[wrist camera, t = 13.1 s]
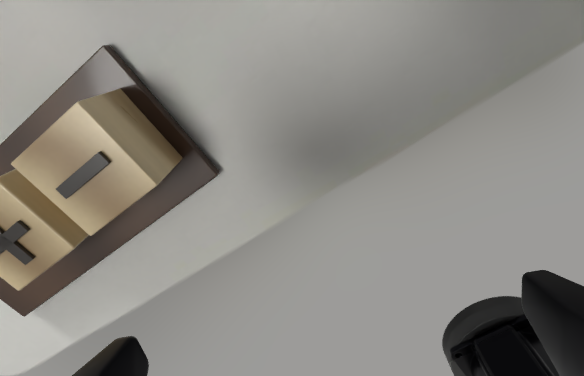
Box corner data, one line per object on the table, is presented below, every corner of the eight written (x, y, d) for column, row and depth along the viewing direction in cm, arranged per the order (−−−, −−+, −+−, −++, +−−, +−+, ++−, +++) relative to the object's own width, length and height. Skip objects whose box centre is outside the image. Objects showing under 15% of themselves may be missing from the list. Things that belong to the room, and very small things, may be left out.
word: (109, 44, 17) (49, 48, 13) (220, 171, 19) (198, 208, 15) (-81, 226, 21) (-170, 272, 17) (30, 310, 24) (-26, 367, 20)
